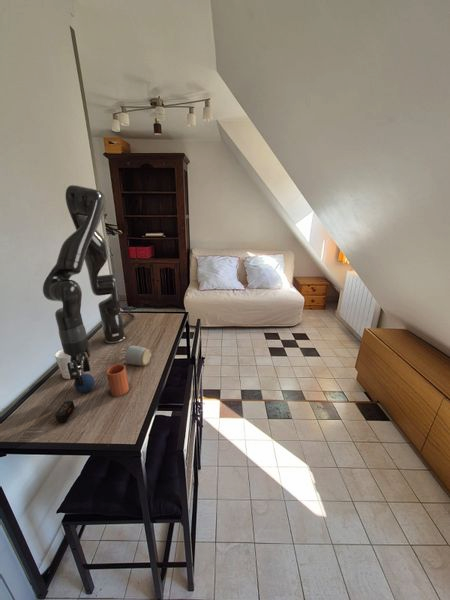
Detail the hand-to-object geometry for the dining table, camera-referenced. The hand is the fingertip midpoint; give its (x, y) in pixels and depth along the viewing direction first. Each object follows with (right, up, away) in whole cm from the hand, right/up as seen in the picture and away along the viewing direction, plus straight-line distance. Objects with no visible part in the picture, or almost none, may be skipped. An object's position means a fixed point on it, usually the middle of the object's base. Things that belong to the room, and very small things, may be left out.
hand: (83, 377), depth 89 cm
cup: (+12, -5, +2) cm, 13 cm away
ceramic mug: (+14, +1, +19) cm, 23 cm away
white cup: (-11, -2, +11) cm, 16 cm away
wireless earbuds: (-1, -9, -9) cm, 13 cm away
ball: (0, -2, +1) cm, 2 cm away
